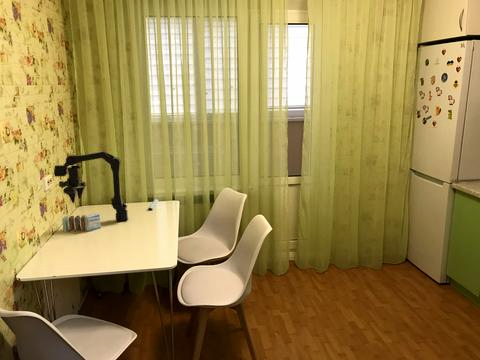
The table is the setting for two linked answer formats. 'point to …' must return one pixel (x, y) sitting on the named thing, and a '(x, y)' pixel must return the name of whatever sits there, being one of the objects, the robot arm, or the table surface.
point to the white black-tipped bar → (153, 204)
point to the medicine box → (92, 222)
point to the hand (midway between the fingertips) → (76, 200)
